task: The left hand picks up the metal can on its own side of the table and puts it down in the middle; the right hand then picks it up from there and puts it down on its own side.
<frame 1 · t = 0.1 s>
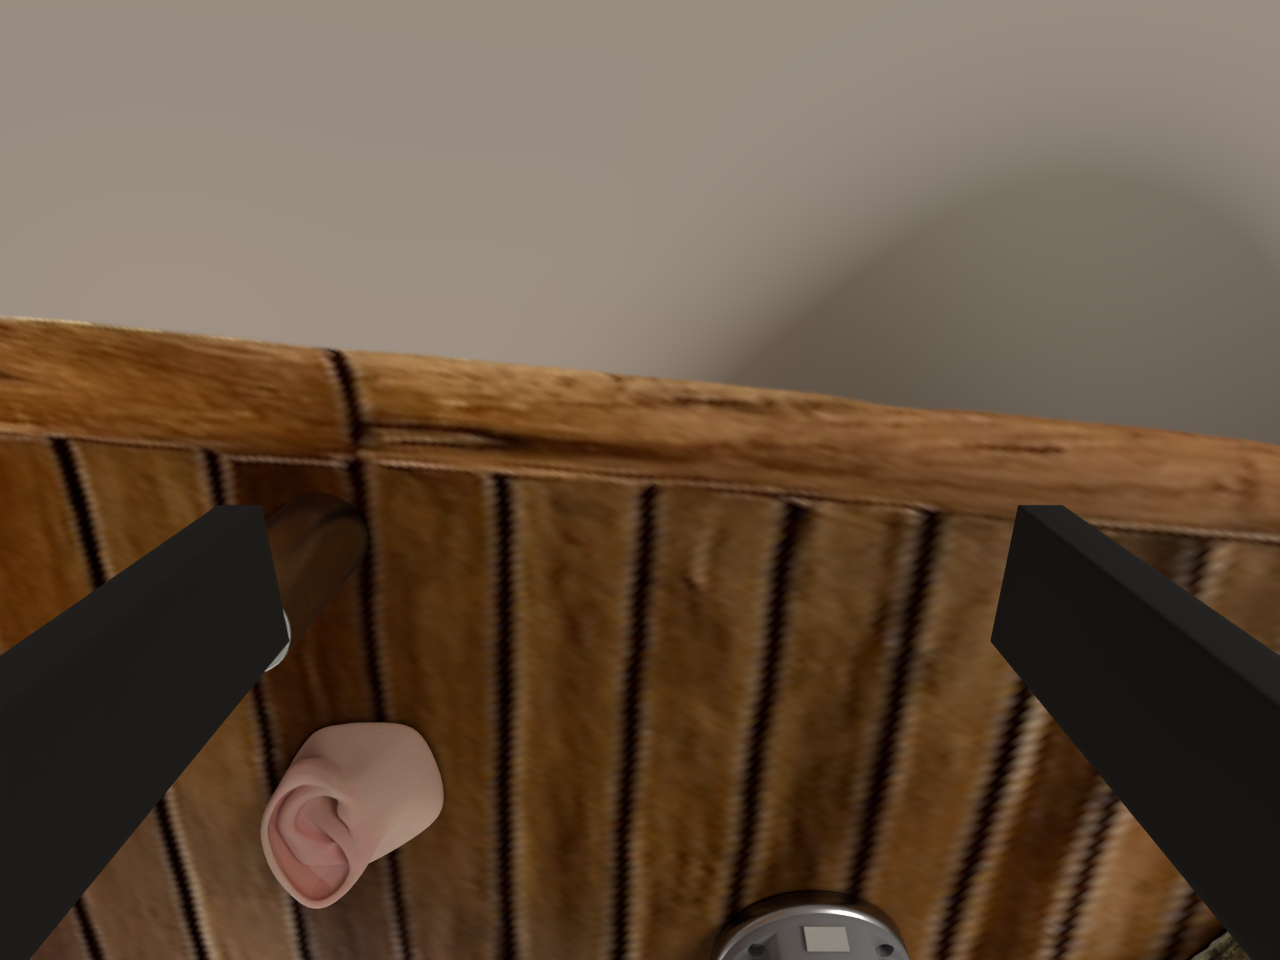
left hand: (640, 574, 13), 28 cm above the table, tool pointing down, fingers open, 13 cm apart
anatomical model: (360, 789, 50), on the table
can: (323, 534, 43), on the table
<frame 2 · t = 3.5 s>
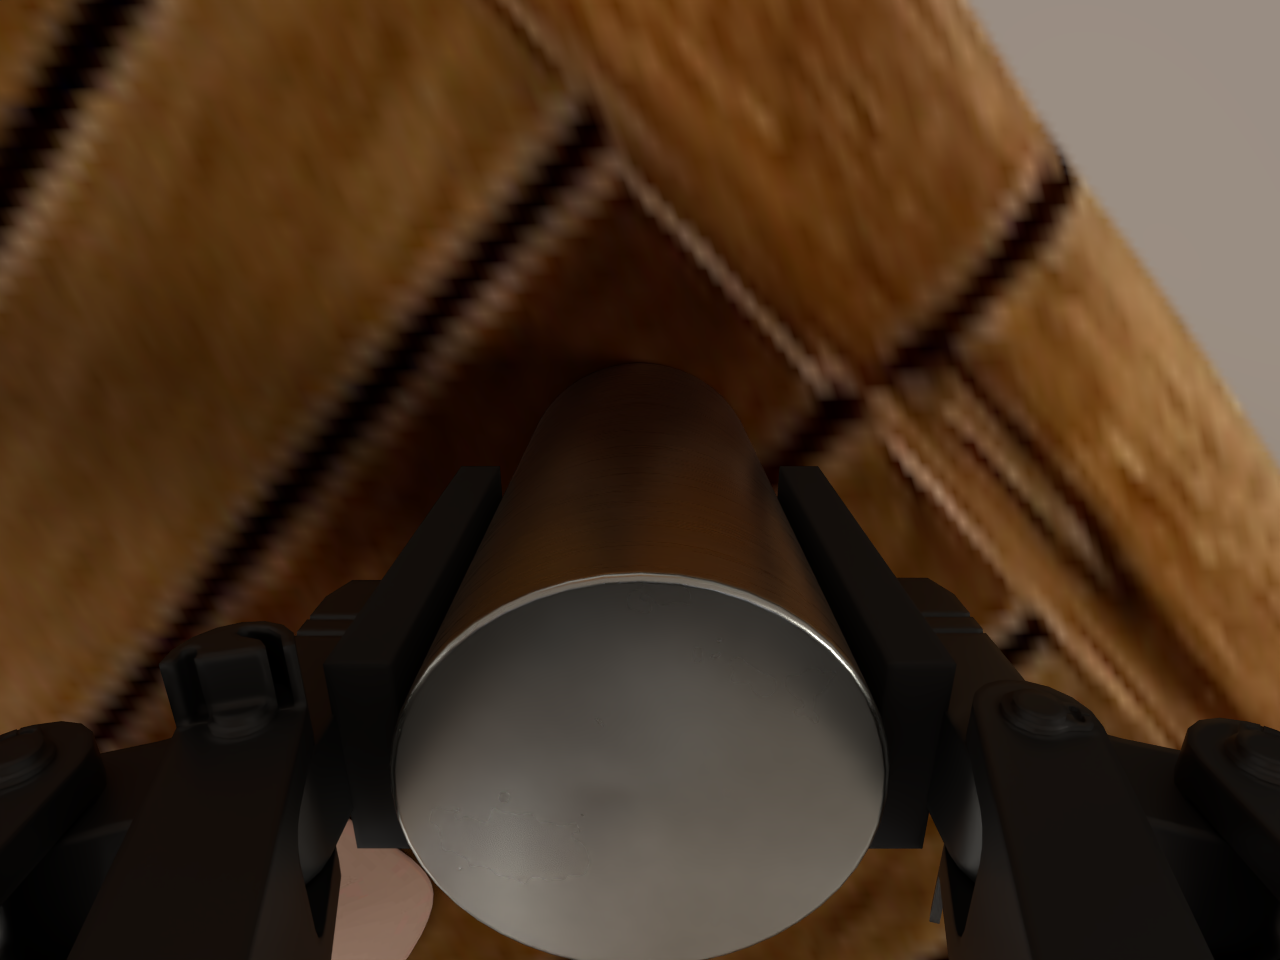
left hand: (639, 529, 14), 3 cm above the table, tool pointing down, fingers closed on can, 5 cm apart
anatomical model: (219, 902, 23), on the table
can: (639, 473, 17), on the table, touching left hand
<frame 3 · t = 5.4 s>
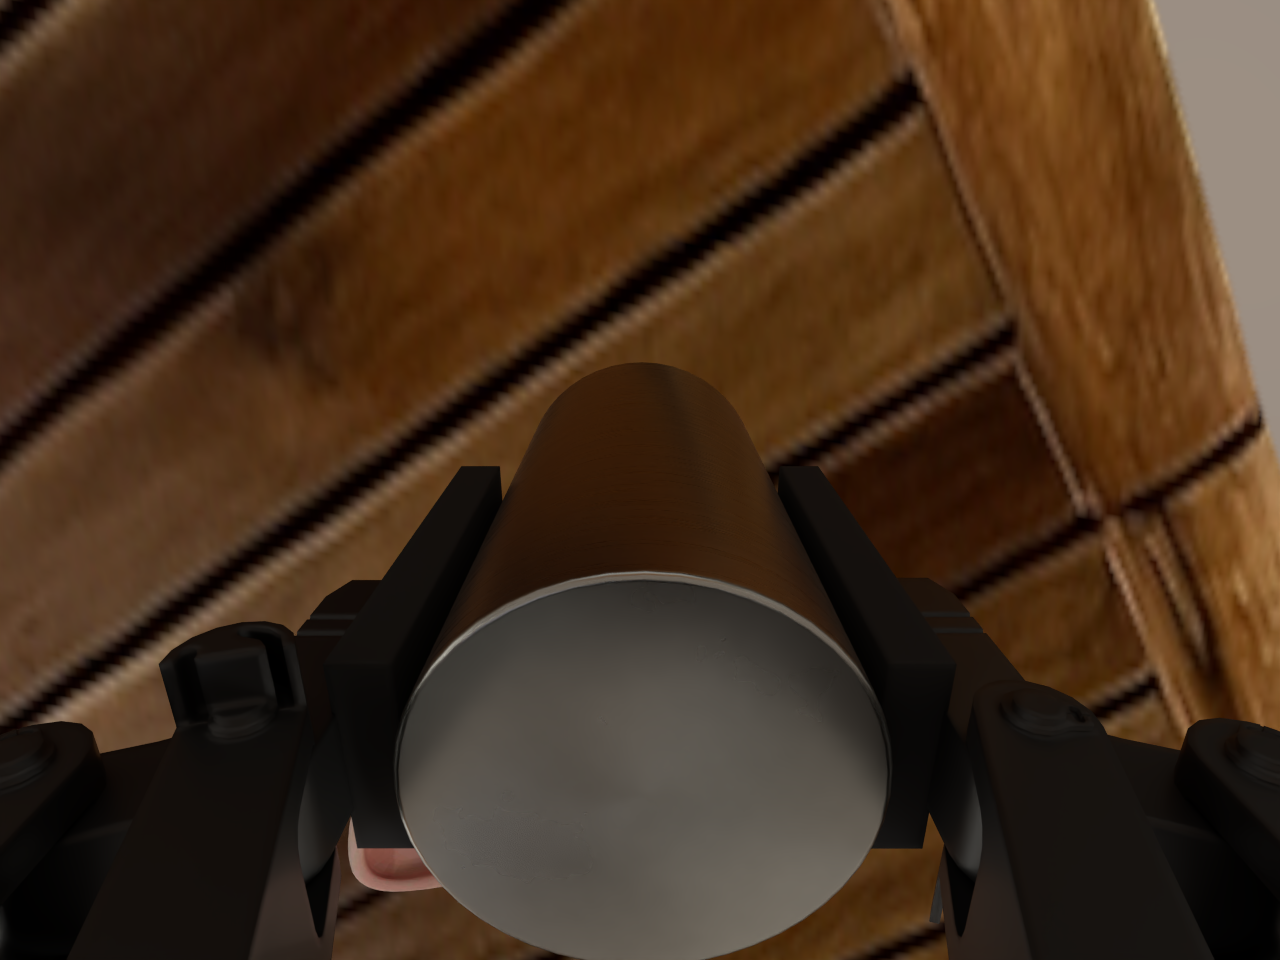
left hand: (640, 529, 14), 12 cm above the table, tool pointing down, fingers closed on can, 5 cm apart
anatomical model: (540, 768, 31), on the table
can: (641, 472, 17), point 8 cm above the table, touching left hand
when the left hand's fingers open (5 cm above the table, at t = 7.2 s): can drops 2 cm, on the table.
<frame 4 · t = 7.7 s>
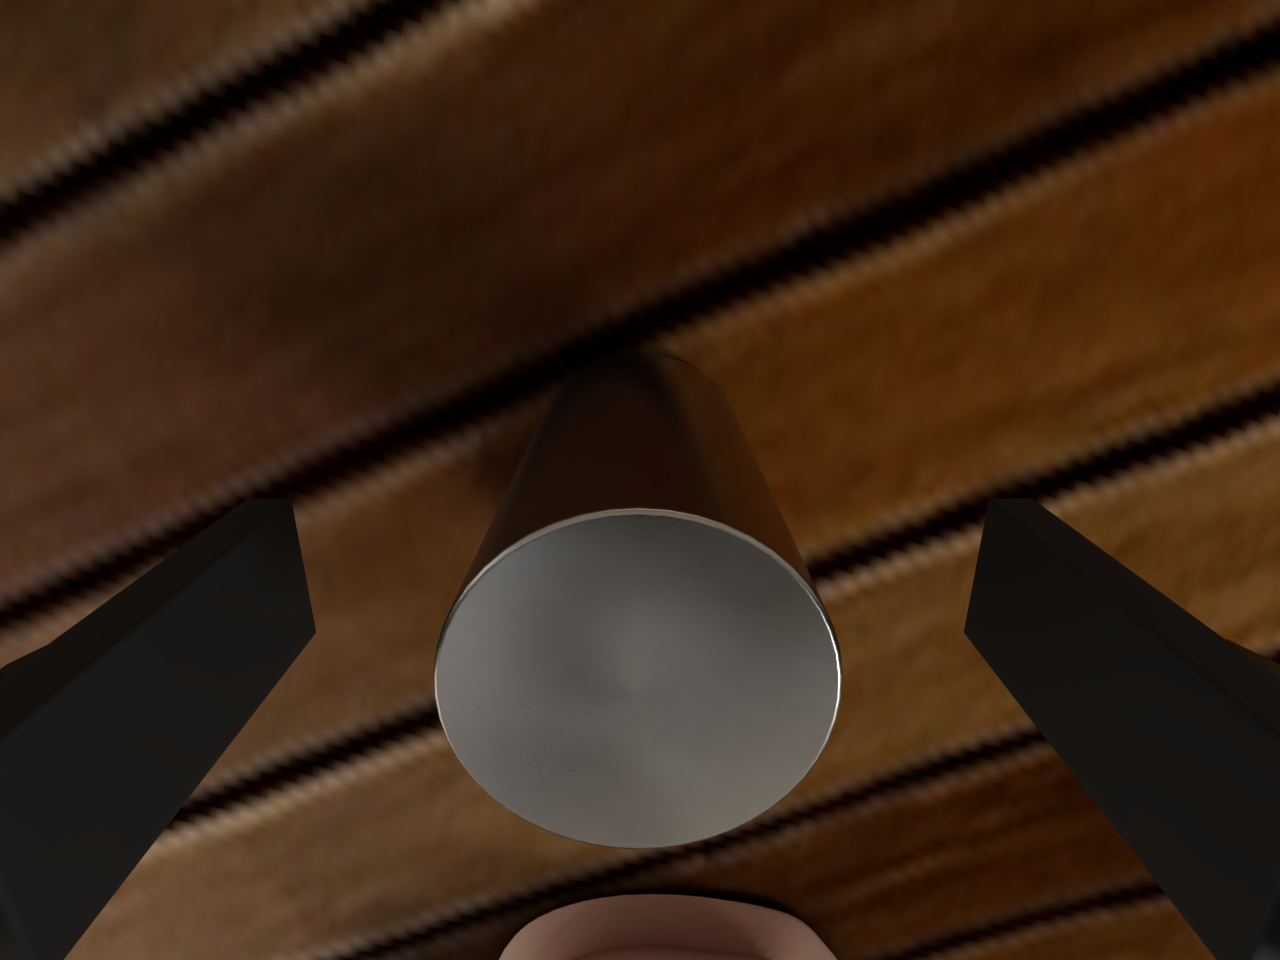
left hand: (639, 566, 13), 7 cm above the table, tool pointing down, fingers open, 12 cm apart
can: (639, 453, 19), on the table
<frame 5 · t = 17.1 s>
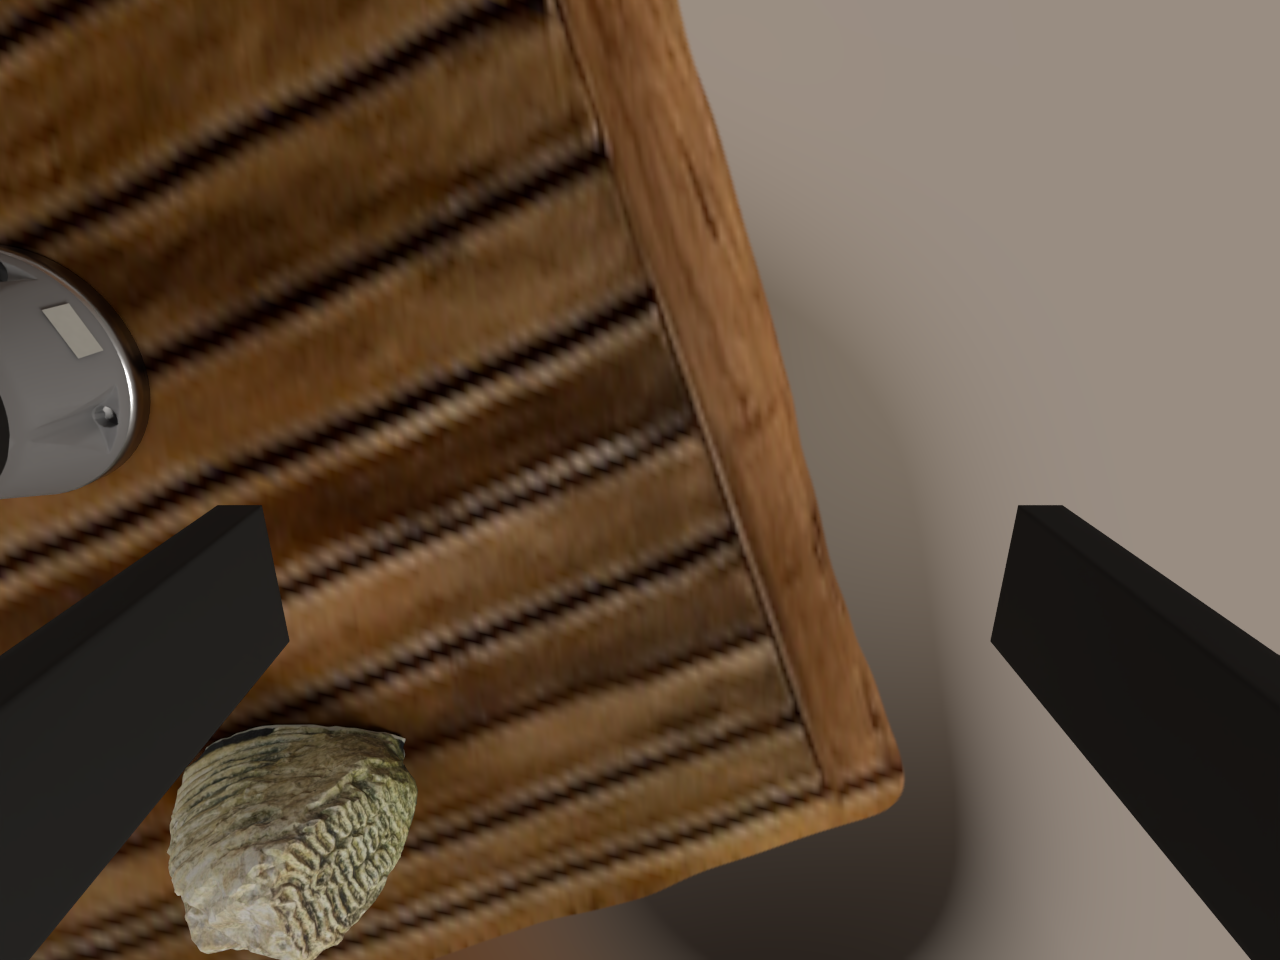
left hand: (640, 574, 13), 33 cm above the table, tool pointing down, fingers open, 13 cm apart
fossil: (319, 757, 55), on the table
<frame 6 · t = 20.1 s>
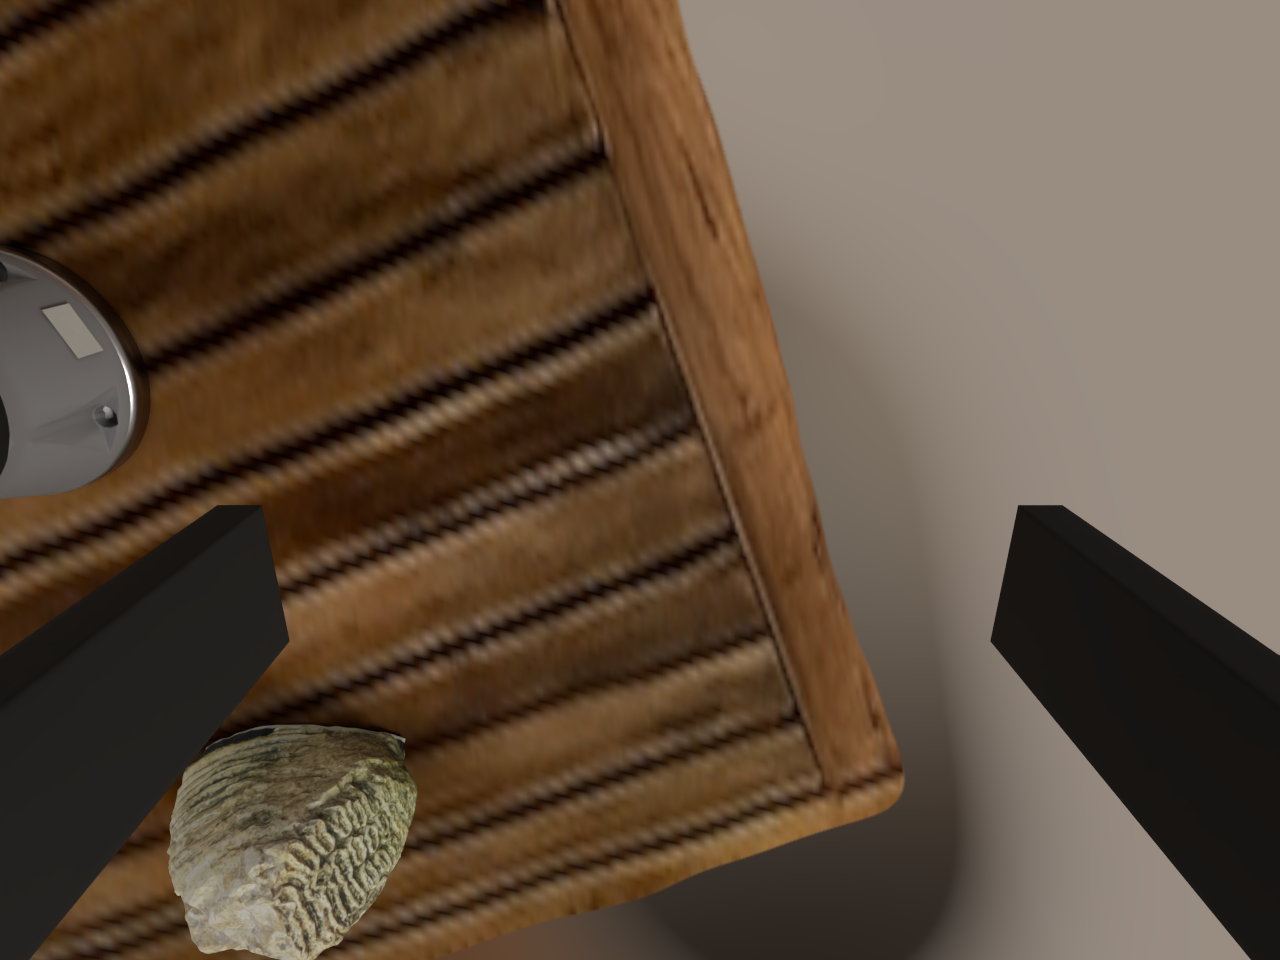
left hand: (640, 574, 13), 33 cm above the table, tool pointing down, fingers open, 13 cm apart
fossil: (319, 757, 55), on the table
when the right hand's fingers open (5 cm above the table, at t = 23.2 s): can drops 2 cm, on the table.
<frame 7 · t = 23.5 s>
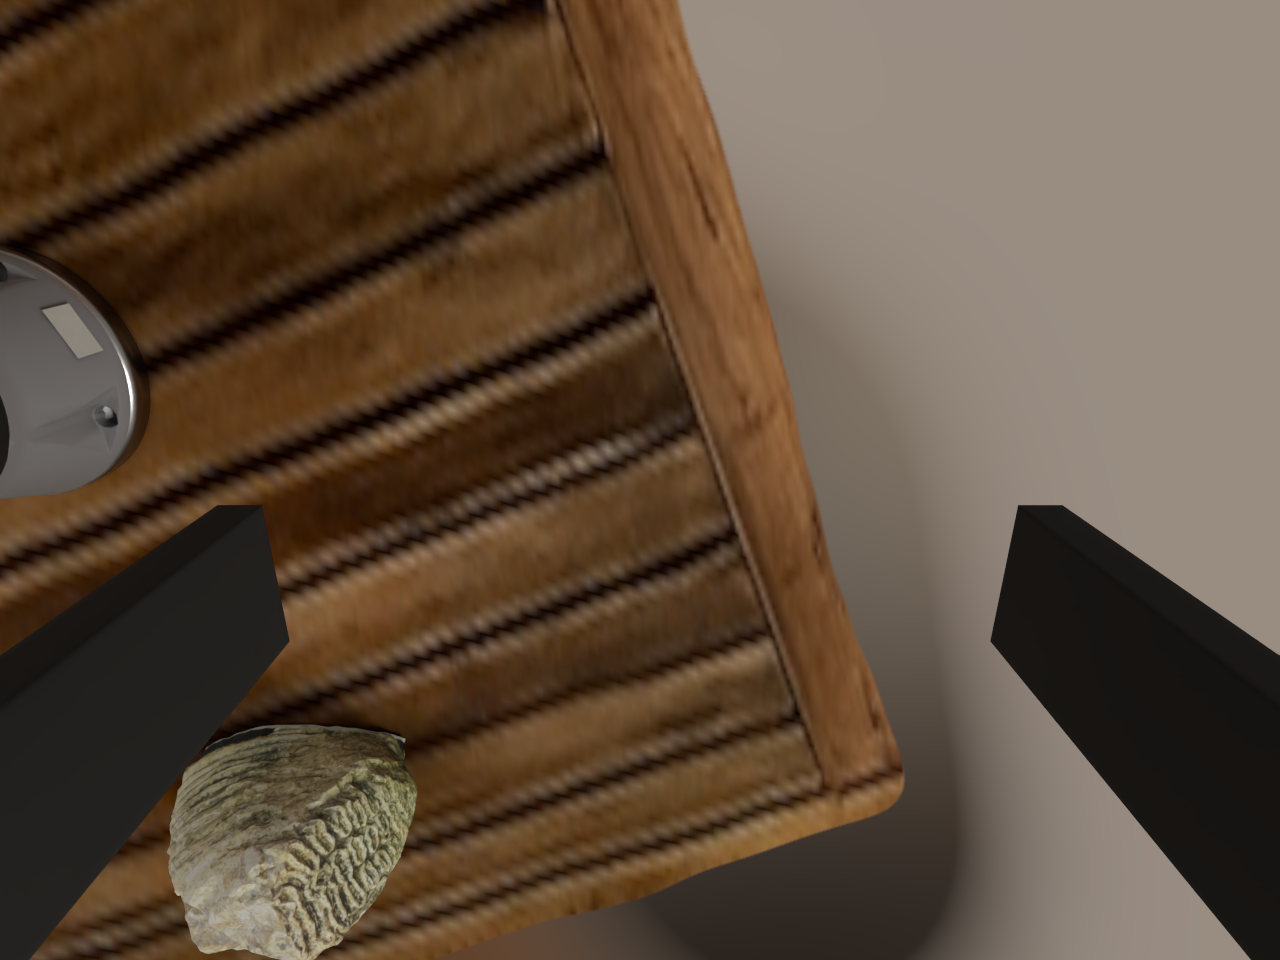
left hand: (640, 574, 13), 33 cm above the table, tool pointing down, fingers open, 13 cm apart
fossil: (319, 757, 55), on the table
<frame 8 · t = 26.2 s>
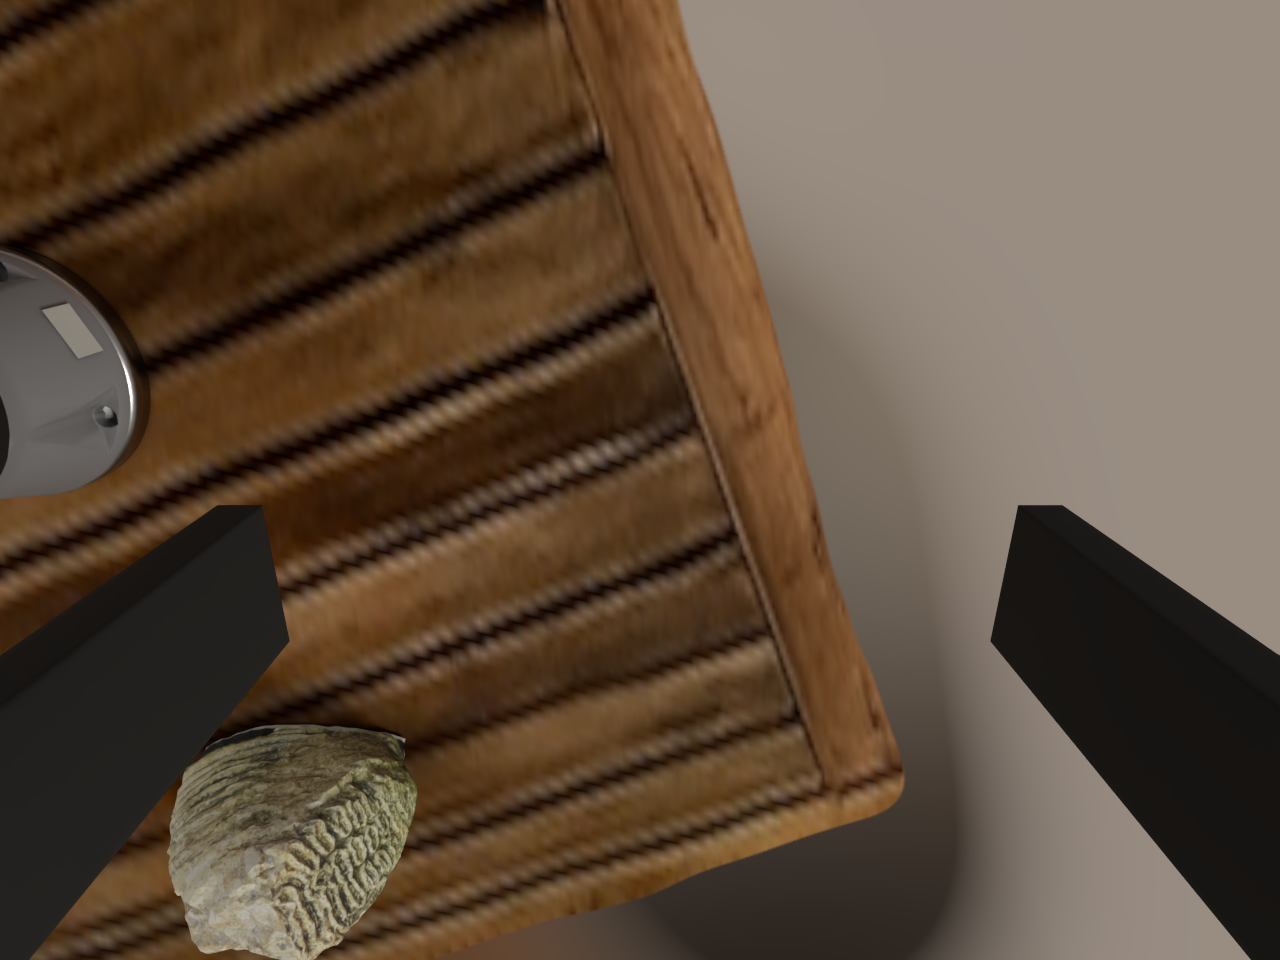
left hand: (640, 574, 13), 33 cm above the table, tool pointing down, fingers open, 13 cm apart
fossil: (319, 757, 55), on the table
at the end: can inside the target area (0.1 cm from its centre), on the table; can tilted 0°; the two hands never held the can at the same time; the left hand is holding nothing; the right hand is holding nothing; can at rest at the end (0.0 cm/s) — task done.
